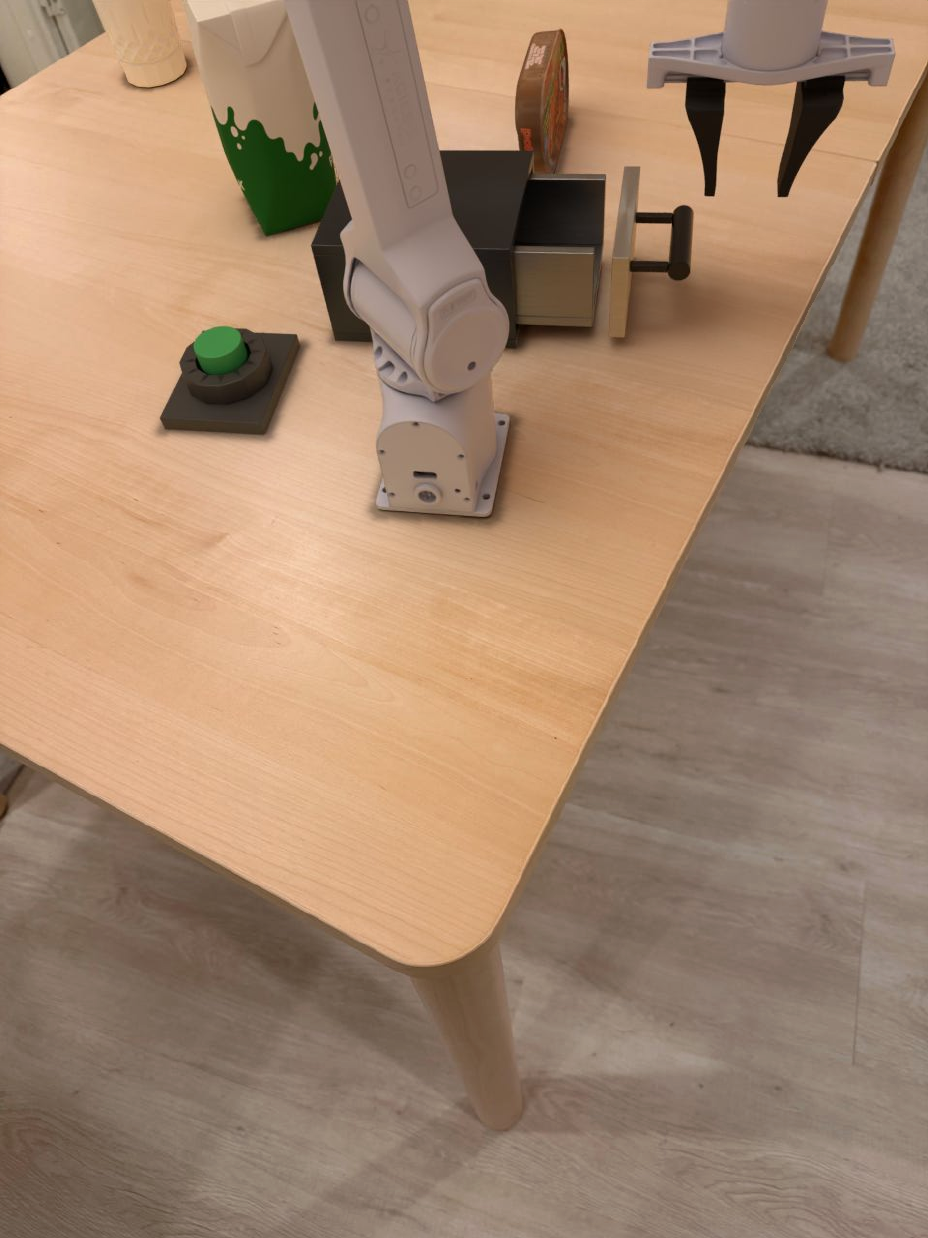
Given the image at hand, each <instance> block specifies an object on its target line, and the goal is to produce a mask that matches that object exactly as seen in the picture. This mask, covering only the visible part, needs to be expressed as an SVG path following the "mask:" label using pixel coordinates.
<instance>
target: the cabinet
mask: <svg viewBox="0 0 928 1238" xmlns="http://www.w3.org/2000/svg"><path fill="white" fill-rule="evenodd" d="M439 152H440V156H441V161H442V166H443V171H444V175H445V180H446V185H447V190H448V195H449V199H450V204H451V209H452V214H453V217H454V219H455V221H456V222H457V224H458V226H459V227H460V229H461V231H462V232H463V234H464V236H465V237H466V239H467V240H468V242H469V244H470V245H471V247H472V249H473V250H474V252H475V254H476V255H477V257H478V259H479V260H480V262H481V264H482V266H483V268H484V270H485V276H486V281H487V285H488V288H489V290H490V292H491V293H492V294H493V296H495V297H496V298H497V299H498V300H499V301H500V302H501V303H502V304H503V306H504V308H505V309H506V312H507V314H508V318H509V334H508V339H507V343H506V346H505V349H516V348H517V346H518V340H519V336H520V332H521V327H522V324H516V309H515V291H514V274H513V256H512V251H513V247H514V243H515V238H516V234H517V230H518V225H519V221H520V217H521V213H522V208H523V204H524V200H525V195H526V191H527V187H528V182H529V178H530V174H534V152H533V150H519V149H518V150H517V149H516V150H513V149H512V150H508V149H507V150H505V149H503V150H502V149H498V150H497V149H496V150H494V149H493V150H491V149H483V150H482V149H481V150H480V149H473V150H472V149H439ZM336 184H337V185H336V188H335V190H334V192H333V195H332V197H331V199H330V202H329V204H328V206H327V209H326V211H325V213H324V216H323V218H322V220H320V223H319V225H318V227H317V230H316V233H315V234H314V237H313V239H312V241H311V244H310V248H311V252H312V256H313V260H314V264H315V267H316V271H317V275H318V279H319V283H320V287H321V291H322V295H323V299H324V303H325V307H326V310H327V314H328V318H329V322H330V326H331V330H332V334H333V339H334V341H335V342H354V343H355V342H357V343H373V339H372V335H371V330H370V326H369V325H368V324H367V323H366V322H364V321H363V320H361V319H359V318H358V317H357V316H356V315H355V314H354V313H353V312H352V311H351V310H350V308H349V306H348V305H347V302H346V299H345V296H344V290H343V281H344V275H345V268H346V255H345V251H344V247H343V244H342V241H341V238H340V234H341V232H342V230H343V229H344V228H345V227H346V226H347V224H348V223H349V222H350V221H351V220H352V217H351V214H350V210H349V207H348V204H347V201H346V198H345V195H344V191H343V188H342V185H341V182H340V179H339V178H338V180H337V182H336Z"/></svg>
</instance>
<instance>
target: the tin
mask: <svg viewBox="0 0 928 1238" xmlns="http://www.w3.org/2000/svg"><path fill="white" fill-rule="evenodd" d="M569 70H570V69H569V53H568V43H567V38H566V33H565V31H564V30H563V28H558V29H557V30H556V29H555V30H545V31H544V30H543V31H542V30H541V31H536V32H535V33H533V35H532V36H531V38H530V41H529V44H528V47H527V50H526V53H525V56H524V60H523V63H522V66H521V69H520V73H519V76H518V80H517V83H516V88H515V89H516V90H515V98H514V100H515V101H514V124H515V131H516V134H517V141H518V150H533V152H534V174H555V173H554V172H555V171H556V167H557V164H558V159H559V155H560V152H561V147H562V143H563V140H564V135H565V131H566V129H567V122H568V115H569V103H570V75H569V73H570V71H569Z"/></svg>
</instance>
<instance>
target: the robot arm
mask: <svg viewBox="0 0 928 1238" xmlns="http://www.w3.org/2000/svg"><path fill="white" fill-rule="evenodd" d="M283 1H284V4H285V8H286V11H287V14H288V17H289V20H290V23H291V27H292V30H293V33H294V36H295V39H296V42H297V46H298V49H299V52H300V55H301V58H302V61H303V65H304V68H305V71H306V74H307V77H308V80H309V84H310V87H311V90H312V93H313V96H314V100H315V103H316V106H317V109H318V112H319V115H320V119H321V122H322V125H323V128H324V131H325V134H326V138H327V141H328V144H329V147H330V150H331V153H332V157H333V162H334V167H335V169H336V173H337V175H338V180H339V179H340V182H341V185H342V188H343V191H344V195H345V198H346V201H347V204H348V207H349V210H350V214H351V217H352V220H351V221H350V222H349V223H348V224H347V226H346V227H345V228H344V229H343V230H342V232H341V234H340V238H341V241H342V244H343V247H344V251H345V255H346V268H345V275H344V281H343V290H344V296H345V299H346V302H347V305H348V306H349V308H350V310H351V311H352V312H353V313H354V314H355V315H356V316H357V317H358V318H359V319H361V320H363V321H364V322H366V323H367V324H368V325H369V326H370V330H371V335H372V339H373V342H372V354H373V355H372V356H373V361H374V366H375V371H376V375H377V380H378V384H379V389H380V393H381V402H382V406H381V407H382V410H381V417H380V423H379V427H378V431H377V433H376V438H375V451H376V456H377V460H378V463H379V469H380V472H381V476H382V479H381V482H380V485H379V488H378V492H377V495H376V499H375V505H376V508H377V509H378V510H380V511H381V510H383V511H395V512H407V513H408V512H409V513H424V514H437V515H449V516H450V515H451V516H466V517H481V518H486V517H489V516H490V515H491V514H492V512H493V506H494V503H495V497H496V492H497V487H498V484H499V483H498V482H499V478H500V477H499V476H500V472H501V467H502V463H503V457H504V452H505V448H506V443H507V437H508V433H509V429H510V423H511V419H510V416H509V414H507V413H500V412H495V406H494V395H493V393H494V392H493V385H492V383H493V382H492V372H493V370H494V368H495V367H496V365H497V363H498V362H499V361H500V359H501V357H502V355H503V353H504V350H505V349H506V348H505V346H506V343H507V339H508V334H509V318H508V314H507V312H506V309H505V308H504V306H503V304H502V303H501V302H500V301H499V300H498V299H497V298H496V297H495V296H493V294H492V293H491V292H490V290H489V288H488V285H487V281H486V276H485V270H484V268H483V266H482V264H481V262H480V260H479V259H478V257H477V255H476V254H475V252H474V250H473V249H472V247H471V245H470V244H469V242H468V240H467V239H466V237H465V236H464V234H463V232H462V231H461V229H460V227H459V226H458V224H457V222H456V221H455V219H454V217H453V214H452V209H451V204H450V199H449V195H448V190H447V185H446V180H445V175H444V171H443V166H442V161H441V156H440V152H439V150H440V147H439V142H438V138H437V133H436V128H435V124H434V118H433V113H432V109H431V105H430V100H429V96H428V90H427V86H426V80H425V76H424V71H423V66H422V61H421V57H420V51H419V48H418V42H417V37H416V34H415V28H414V23H413V19H412V14H411V8H410V4H409V0H283ZM828 3H829V0H727V3H726V11H725V18H724V26H723V31H719V32H712V33H707V34H703V35H698V36H692V37H688V38H682V39H676V40H668V41H651V42H650V44H649V51H648V61H647V63H648V64H647V76H646V89H649V90H652V89H653V90H654V89H656V90H657V89H659V90H660V89H663V88H664V87H665V84H685V86H686V87H685V100H684V107H685V112H686V116H687V120H688V122H689V125H690V126H691V129H692V131H693V134H694V137H695V140H696V142H697V143H696V144H697V146H698V150H699V154H700V158H701V163H702V169H703V170H702V171H703V179H704V180H703V181H704V193H703V196H704V197H715V195H716V189H717V180H718V177H717V176H718V156H719V148H720V142H721V136H722V130H723V123H724V117H725V106H726V105H725V102H726V93H727V91H726V89H727V83H728V84H729V83H740V84H746V85H752V86H765V87H766V86H767V87H769V86H770V87H771V86H780V85H781V86H782V85H786V84H791V83H796V86H795V92H794V97H793V104H792V110H791V116H790V122H789V128H788V132H787V137H786V139H785V144H784V147H783V151H782V154H781V158H780V163H779V167H778V174H777V179H776V189H777V192H776V193H777V198H788V197H789V195H790V193H791V189H792V186H793V184H794V182H795V180H796V178H797V175H798V174H799V172H800V171H801V170H800V169H801V167H802V166H803V165H804V162H805V160H806V159H807V157H808V155H809V153H810V152H811V151H812V149H813V148H814V146H815V145H816V144H817V142H818V141H819V139H820V138H821V137H822V136H823V134H824V133H825V131H826V130H827V129H828V128H829V127H830V125H832V123H833V122H834V121H835V120H836V119H837V117H838V115H839V114H840V112H841V110H842V107H843V104H844V100H845V95H844V88H845V83H846V82H867V85H868V86H869V87H872V88H873V87H875V88H876V87H887V86H888V84H889V81H890V80H889V79H890V77H891V72H892V68H893V65H894V61H895V58H896V55H897V54H896V47H895V41H894V38H893V37H870V36H861V35H854V34H847V33H840V32H834V31H826V30H823V28H824V27H823V26H824V22H825V17H826V13H827V6H828Z"/></svg>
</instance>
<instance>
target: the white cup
mask: <svg viewBox="0 0 928 1238" xmlns="http://www.w3.org/2000/svg"><path fill="white" fill-rule="evenodd" d="M91 1H92V4H93V6H94V8H95V11H96V13H97V16H98V18H99V21H100V23H101V25H102V27H103V30H104V32H105V34H106V36H107V38H108V42H109V43H110V45H111V48H112V49H113V52H114V55H115V56H116V58H117V59H118V60H119V63H120V65H121V67H122V69H123V72H124V75H125V77H126V79H127V82H128V83H129V84H131V85H133V86H135V87H139V88H155V87H160V86H164V85H167V84H169V83H171V82H173V81H176V80H177V79H178V78H180V77H181V76H182V75H183V74H184V73H185V71H186V69H187V68H188V67H187V62H186V57H185V54H184V51H183V48H182V44H181V39H180V37H181V36H180V33H179V28H178V25H177V20H176V17H175V12H174V9H173V6H172V2H171V0H91Z"/></svg>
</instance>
